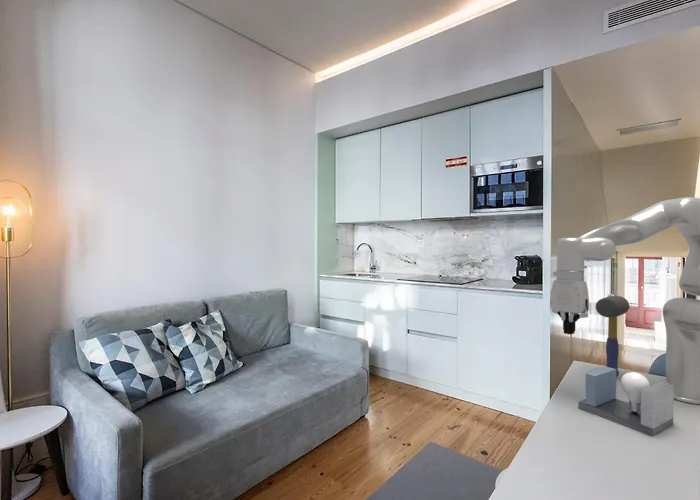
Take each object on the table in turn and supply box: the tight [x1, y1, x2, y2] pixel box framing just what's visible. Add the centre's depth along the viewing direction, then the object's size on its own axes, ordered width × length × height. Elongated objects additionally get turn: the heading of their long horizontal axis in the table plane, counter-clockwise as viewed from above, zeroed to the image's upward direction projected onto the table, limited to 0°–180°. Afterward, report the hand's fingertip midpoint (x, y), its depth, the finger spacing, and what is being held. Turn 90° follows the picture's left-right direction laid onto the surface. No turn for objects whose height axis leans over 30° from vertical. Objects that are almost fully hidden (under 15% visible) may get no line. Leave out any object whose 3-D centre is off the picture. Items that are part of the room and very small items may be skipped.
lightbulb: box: [620, 371, 651, 413], centre depth 99 cm, size 6×6×11 cm
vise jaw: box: [585, 366, 617, 407], centre depth 106 cm, size 12×2×9 cm, turn 119°
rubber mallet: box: [595, 295, 630, 379], centre depth 130 cm, size 12×8×30 cm, turn 124°
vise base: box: [577, 381, 675, 437], centre depth 101 cm, size 12×18×11 cm, turn 29°
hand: (569, 333), depth 114 cm, fingers closed
